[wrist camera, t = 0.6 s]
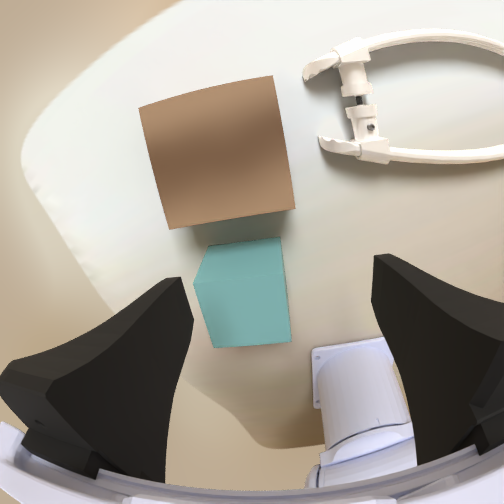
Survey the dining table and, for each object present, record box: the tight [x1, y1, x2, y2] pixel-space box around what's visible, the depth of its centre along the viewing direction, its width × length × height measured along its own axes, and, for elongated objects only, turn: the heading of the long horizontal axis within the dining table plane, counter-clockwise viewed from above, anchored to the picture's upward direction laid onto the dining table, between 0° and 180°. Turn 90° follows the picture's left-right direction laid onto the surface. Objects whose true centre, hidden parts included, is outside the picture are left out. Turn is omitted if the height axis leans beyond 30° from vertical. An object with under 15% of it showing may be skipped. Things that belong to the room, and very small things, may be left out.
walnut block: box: [139, 75, 295, 230], centre depth 16 cm, size 7×7×4 cm
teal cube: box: [193, 237, 292, 348], centre depth 19 cm, size 5×5×5 cm
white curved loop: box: [302, 29, 504, 164], centre depth 13 cm, size 3×10×25 cm
